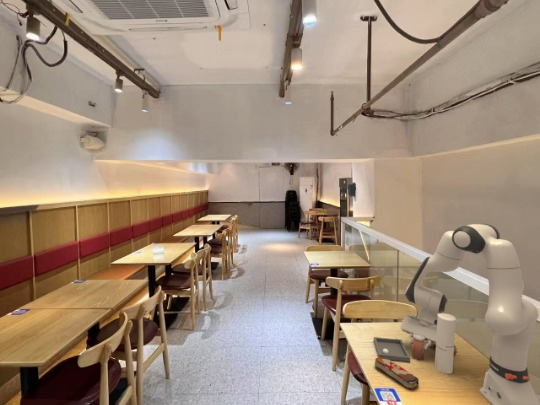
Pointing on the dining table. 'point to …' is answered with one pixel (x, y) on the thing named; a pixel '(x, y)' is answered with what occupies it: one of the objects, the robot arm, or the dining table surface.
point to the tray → (392, 349)
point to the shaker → (418, 346)
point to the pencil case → (397, 372)
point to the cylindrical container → (445, 343)
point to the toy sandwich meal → (435, 347)
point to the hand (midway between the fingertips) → (417, 346)
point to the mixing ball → (385, 351)
